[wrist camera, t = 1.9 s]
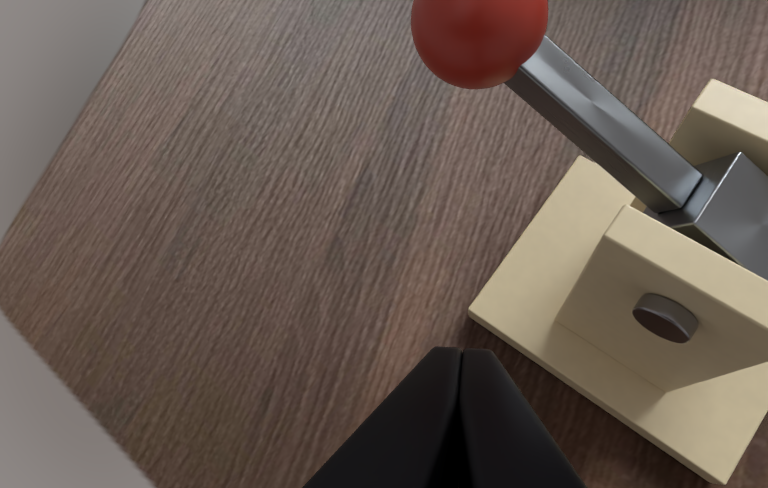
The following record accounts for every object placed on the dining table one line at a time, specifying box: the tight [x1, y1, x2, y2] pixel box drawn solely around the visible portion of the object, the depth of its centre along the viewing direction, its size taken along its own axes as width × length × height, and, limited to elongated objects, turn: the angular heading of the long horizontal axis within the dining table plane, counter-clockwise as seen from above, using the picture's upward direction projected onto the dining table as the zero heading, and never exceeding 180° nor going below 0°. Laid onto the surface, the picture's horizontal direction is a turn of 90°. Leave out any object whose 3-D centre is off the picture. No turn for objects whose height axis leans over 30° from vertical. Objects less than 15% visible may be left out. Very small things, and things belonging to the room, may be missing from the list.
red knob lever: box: [411, 0, 768, 281], centre depth 13 cm, size 11×3×3 cm, turn 52°
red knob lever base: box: [468, 79, 768, 485], centre depth 17 cm, size 10×8×10 cm
